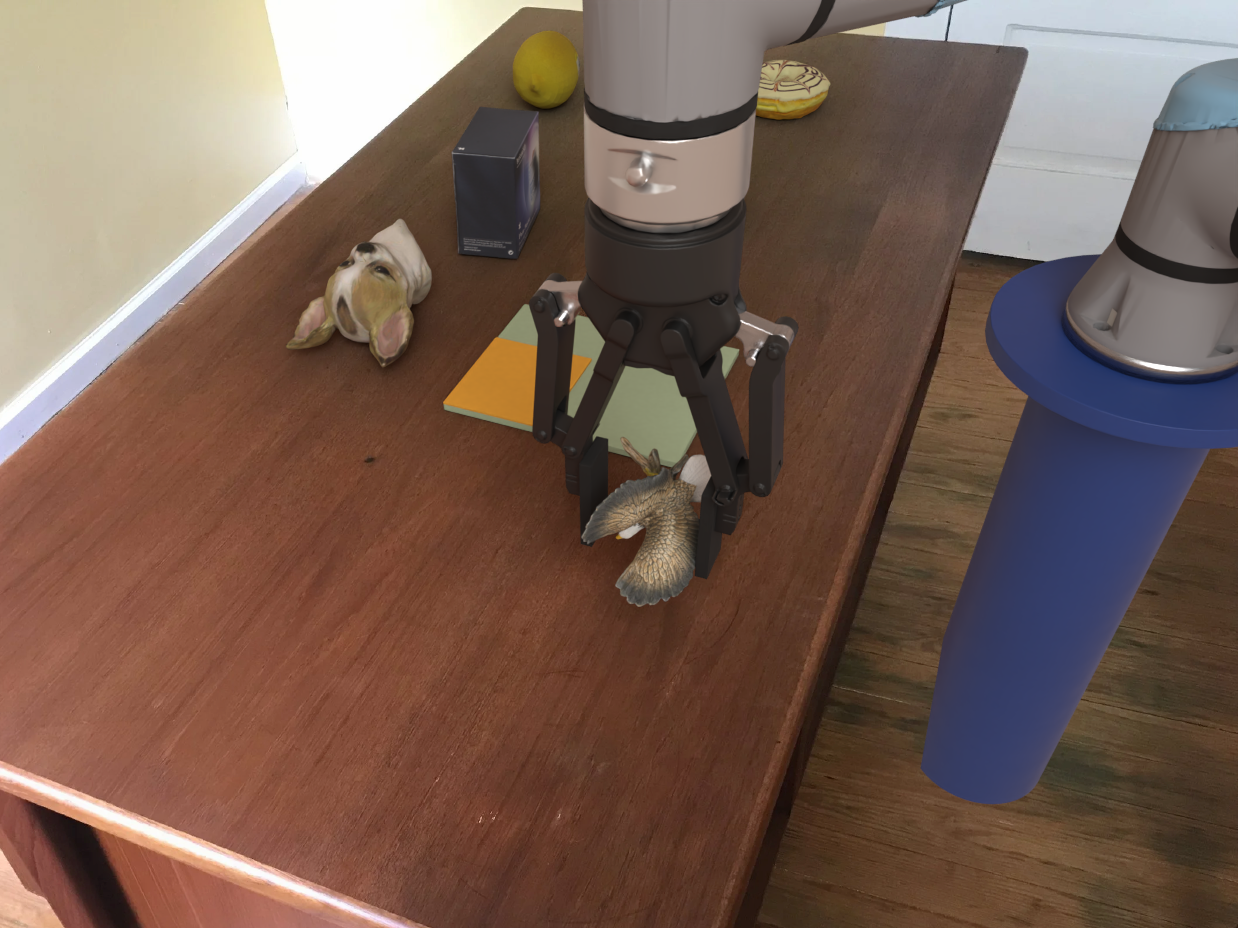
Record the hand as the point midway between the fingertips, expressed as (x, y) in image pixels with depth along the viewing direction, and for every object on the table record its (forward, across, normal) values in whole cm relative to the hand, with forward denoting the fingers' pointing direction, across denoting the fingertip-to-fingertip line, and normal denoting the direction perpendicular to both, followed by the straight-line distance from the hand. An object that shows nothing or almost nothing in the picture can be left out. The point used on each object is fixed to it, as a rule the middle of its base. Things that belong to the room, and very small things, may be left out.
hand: (649, 546), depth 67 cm
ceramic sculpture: (+8, -34, +24) cm, 42 cm away
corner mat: (+7, -13, +24) cm, 28 cm away
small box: (+8, -31, +44) cm, 54 cm away
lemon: (+8, -39, +74) cm, 84 cm away
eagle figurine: (0, 0, 0) cm, 1 cm away
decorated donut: (+8, -13, +82) cm, 83 cm away
